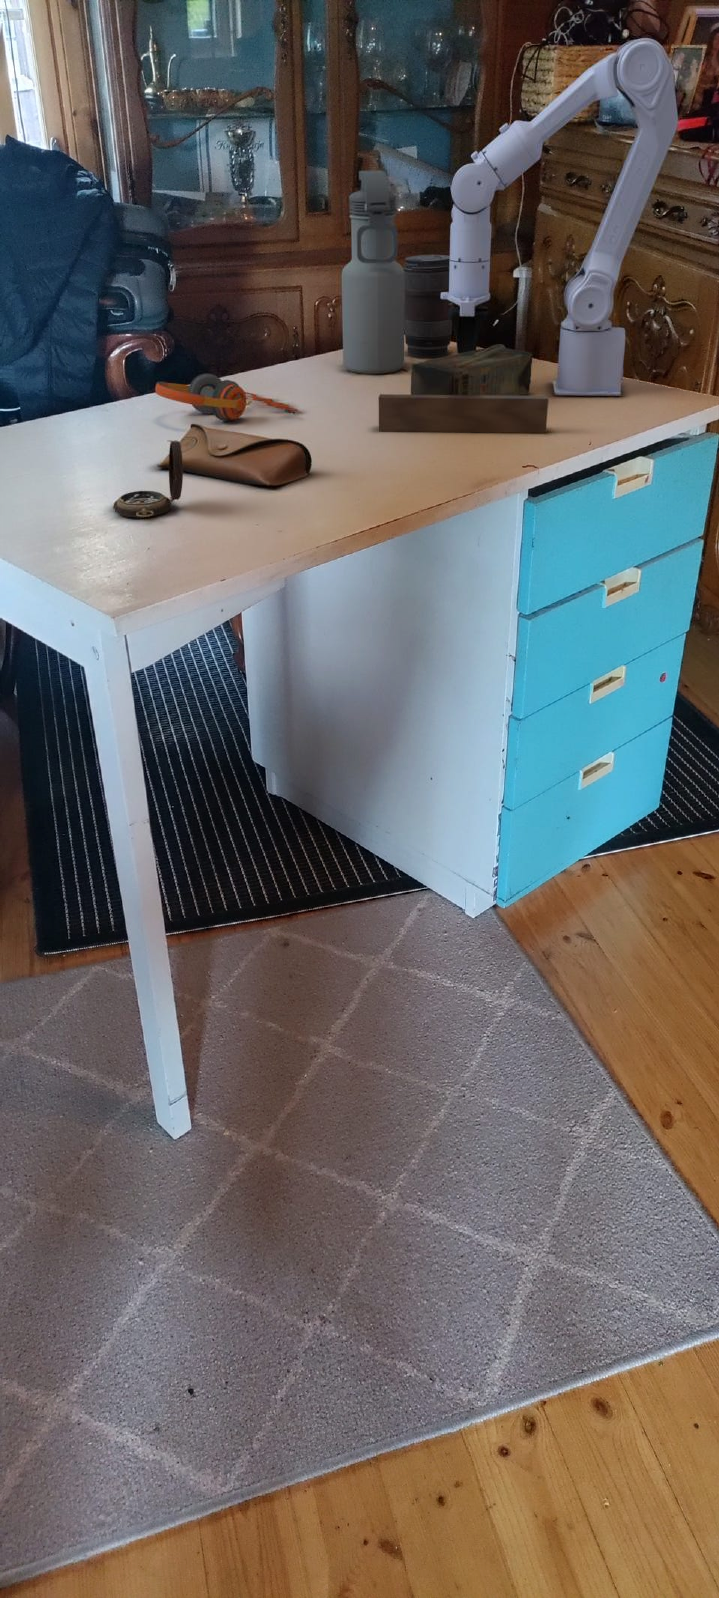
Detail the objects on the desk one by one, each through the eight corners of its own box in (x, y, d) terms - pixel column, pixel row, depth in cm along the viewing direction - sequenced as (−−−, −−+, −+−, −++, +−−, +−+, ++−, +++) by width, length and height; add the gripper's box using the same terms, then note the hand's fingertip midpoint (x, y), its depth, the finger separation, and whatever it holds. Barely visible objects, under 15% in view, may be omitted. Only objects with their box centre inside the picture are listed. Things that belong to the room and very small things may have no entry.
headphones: (249, 411, 178) (130, 400, 165) (254, 374, 176) (133, 360, 163) (314, 434, 166) (191, 424, 154) (321, 395, 164) (196, 381, 152)
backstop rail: (545, 430, 157) (547, 395, 155) (545, 433, 156) (548, 398, 153) (379, 428, 159) (379, 394, 157) (378, 431, 158) (378, 397, 155)
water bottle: (409, 374, 187) (411, 173, 172) (347, 376, 186) (344, 175, 171) (398, 361, 195) (399, 169, 181) (339, 363, 194) (335, 170, 180)
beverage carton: (533, 394, 174) (536, 347, 171) (450, 420, 162) (452, 369, 159) (489, 386, 179) (491, 340, 175) (406, 410, 167) (407, 361, 163)
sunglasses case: (150, 465, 143) (163, 410, 143) (184, 481, 149) (197, 429, 149) (273, 487, 135) (287, 429, 135) (303, 503, 141) (317, 448, 141)
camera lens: (427, 347, 205) (428, 252, 197) (461, 353, 200) (464, 256, 192) (393, 354, 200) (393, 257, 193) (427, 361, 195) (428, 261, 187)
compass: (112, 504, 132) (104, 438, 128) (183, 498, 134) (177, 433, 130) (116, 527, 125) (107, 457, 122) (191, 520, 127) (185, 452, 123)
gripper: (443, 253, 174) (441, 350, 182) (439, 267, 162) (437, 370, 169) (491, 253, 174) (487, 350, 181) (491, 267, 162) (486, 371, 169)
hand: (466, 360), depth 175 cm, fingers closed
